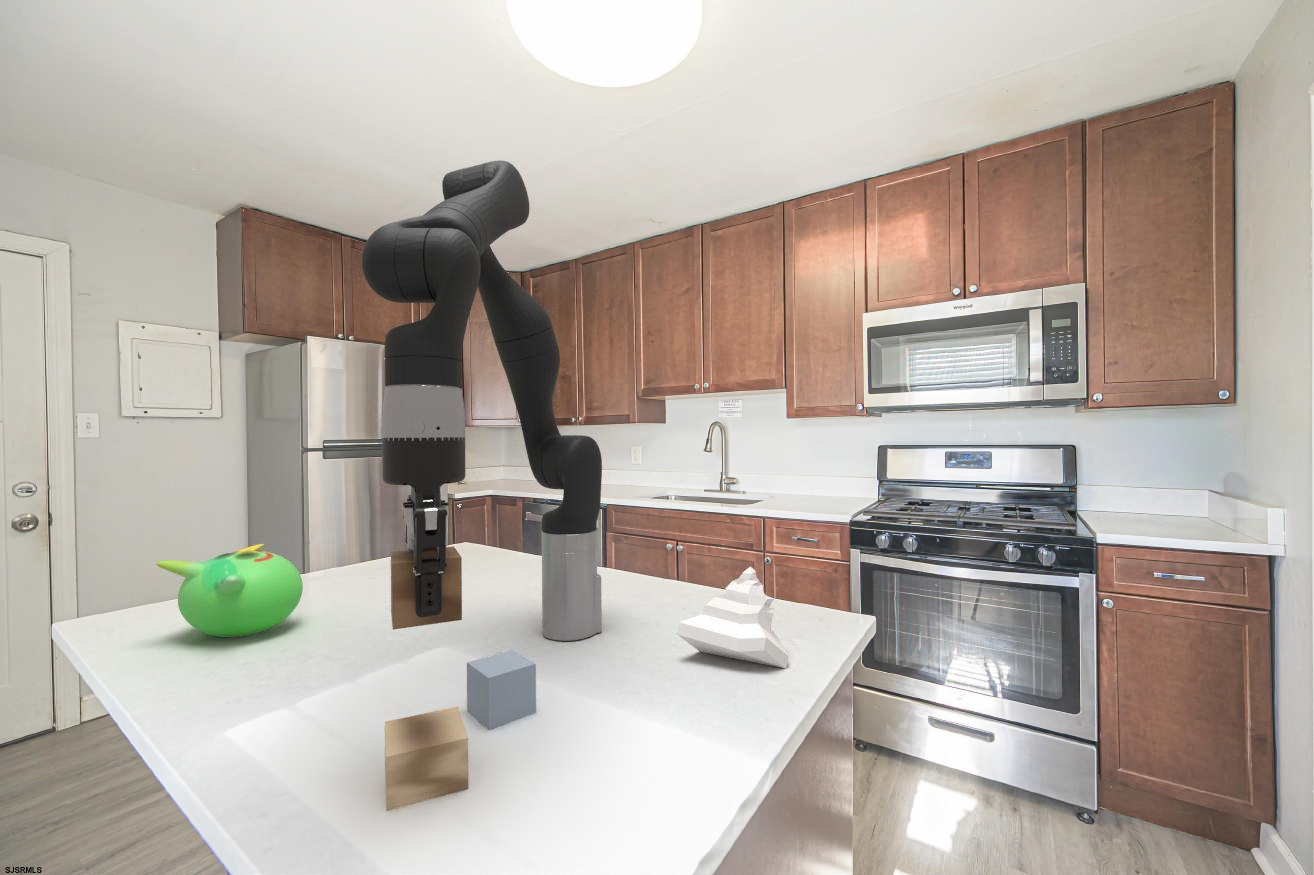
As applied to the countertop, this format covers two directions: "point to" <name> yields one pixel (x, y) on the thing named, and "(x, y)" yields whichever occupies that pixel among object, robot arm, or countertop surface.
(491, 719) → the slate block
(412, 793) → the oak base block
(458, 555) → the walnut block
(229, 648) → the countertop surface
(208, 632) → the toy bird
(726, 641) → the white seashell
